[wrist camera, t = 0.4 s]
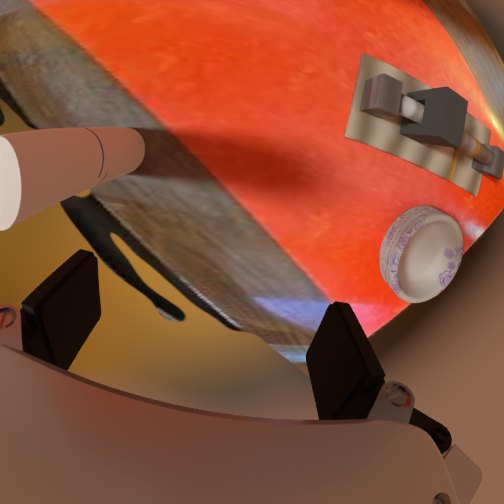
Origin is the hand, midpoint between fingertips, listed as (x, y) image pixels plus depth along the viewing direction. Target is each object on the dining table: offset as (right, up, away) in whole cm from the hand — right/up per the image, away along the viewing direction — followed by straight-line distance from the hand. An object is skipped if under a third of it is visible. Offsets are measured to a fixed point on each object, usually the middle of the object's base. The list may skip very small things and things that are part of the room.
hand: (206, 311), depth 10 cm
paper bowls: (+29, +4, +32) cm, 43 cm away
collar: (+26, +23, +22) cm, 41 cm away
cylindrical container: (-17, +17, +25) cm, 35 cm away
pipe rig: (+31, +22, +23) cm, 45 cm away
